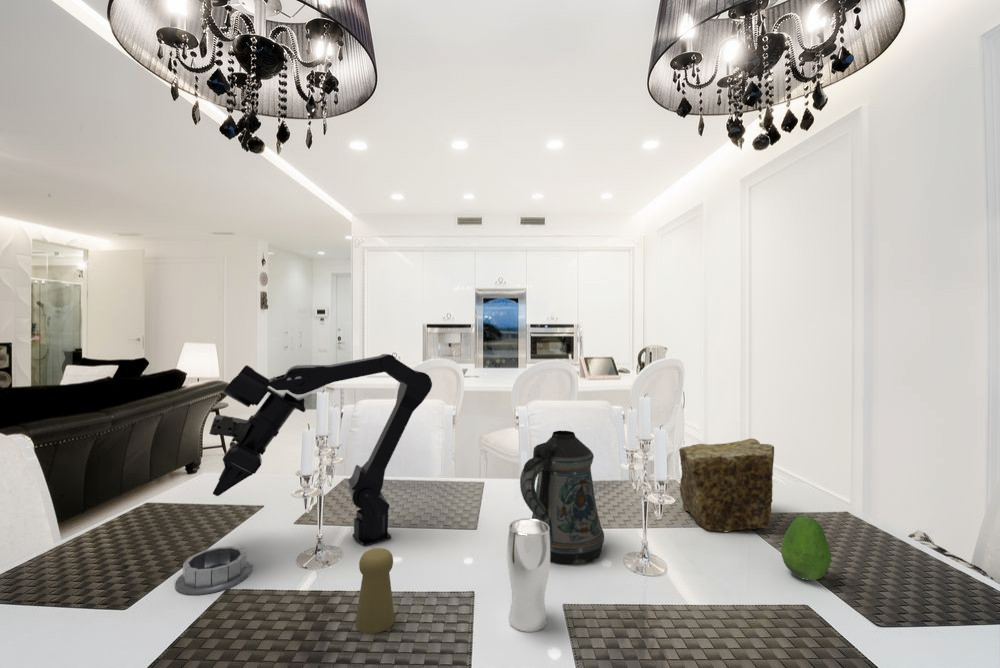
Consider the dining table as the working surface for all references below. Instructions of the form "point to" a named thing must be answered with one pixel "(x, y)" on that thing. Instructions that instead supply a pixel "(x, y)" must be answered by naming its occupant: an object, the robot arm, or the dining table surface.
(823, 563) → the avocado
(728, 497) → the decorative stone
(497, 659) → the dining table surface
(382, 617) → the olive game pawn
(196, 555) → the duct collar
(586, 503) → the beer stein
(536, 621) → the beer glass
